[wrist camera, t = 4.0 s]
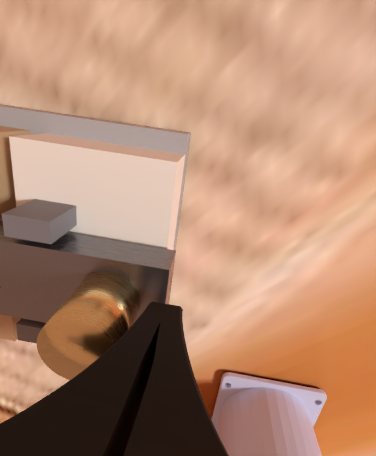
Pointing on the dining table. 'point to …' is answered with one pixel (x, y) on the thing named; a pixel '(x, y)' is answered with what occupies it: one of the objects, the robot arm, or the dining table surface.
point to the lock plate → (87, 184)
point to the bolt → (80, 292)
